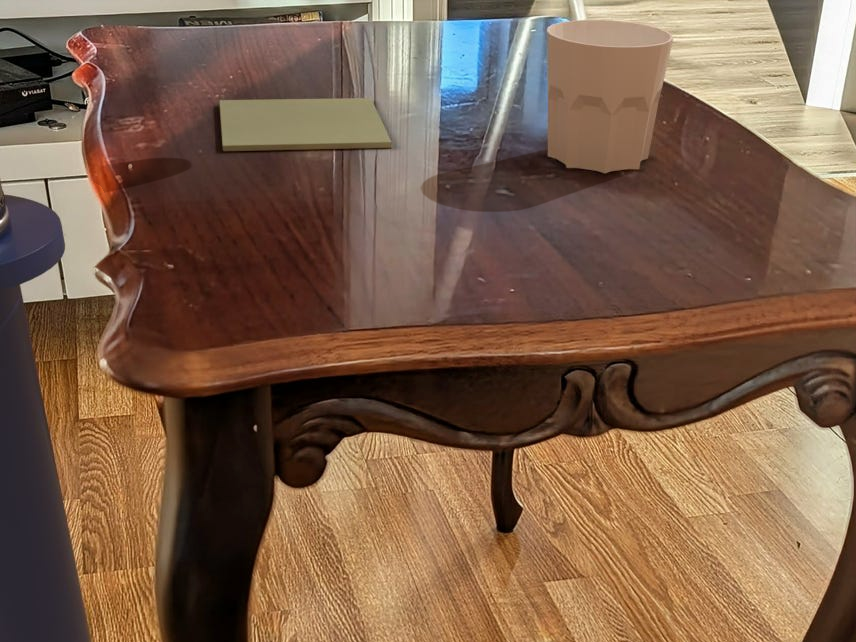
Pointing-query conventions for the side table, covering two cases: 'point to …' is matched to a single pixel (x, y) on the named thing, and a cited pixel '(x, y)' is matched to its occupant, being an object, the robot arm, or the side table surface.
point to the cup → (604, 91)
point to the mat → (301, 124)
